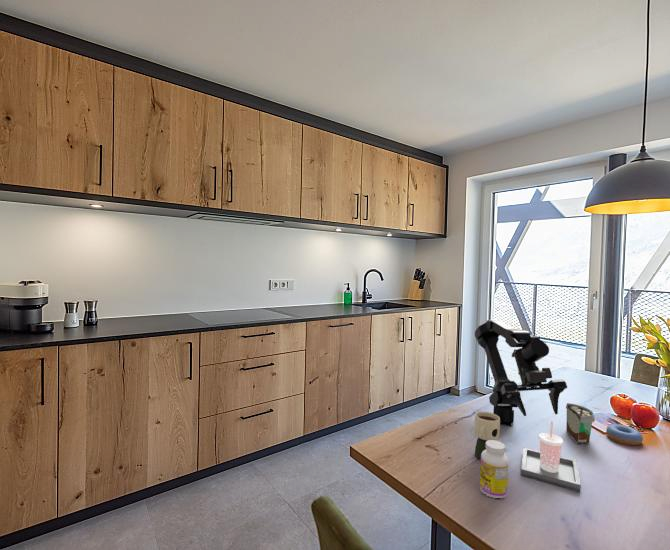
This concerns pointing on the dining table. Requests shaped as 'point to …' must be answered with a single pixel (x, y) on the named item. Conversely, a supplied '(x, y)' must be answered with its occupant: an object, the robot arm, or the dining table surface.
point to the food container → (579, 423)
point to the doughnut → (624, 434)
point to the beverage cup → (550, 451)
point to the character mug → (485, 430)
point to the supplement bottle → (494, 470)
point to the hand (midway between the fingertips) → (540, 415)
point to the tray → (562, 478)
